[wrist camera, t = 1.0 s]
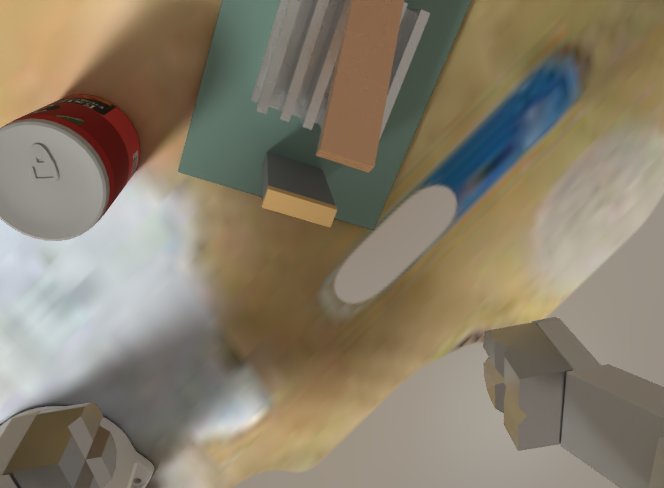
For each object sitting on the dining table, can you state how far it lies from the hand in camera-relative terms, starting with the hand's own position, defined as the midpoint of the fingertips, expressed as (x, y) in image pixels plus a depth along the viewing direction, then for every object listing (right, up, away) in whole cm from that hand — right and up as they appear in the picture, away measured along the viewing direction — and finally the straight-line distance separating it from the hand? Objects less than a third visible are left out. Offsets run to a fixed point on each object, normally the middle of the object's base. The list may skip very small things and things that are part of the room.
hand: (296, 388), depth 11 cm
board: (0, +18, +31) cm, 36 cm away
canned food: (-19, +12, +32) cm, 39 cm away
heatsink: (+1, +18, +31) cm, 36 cm away
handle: (+3, +15, +20) cm, 25 cm away
